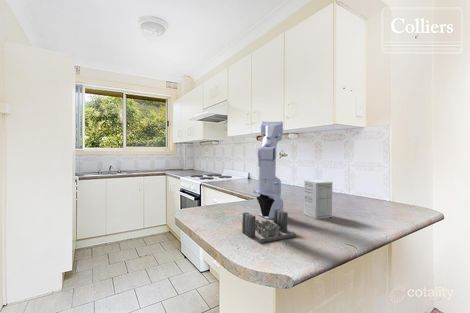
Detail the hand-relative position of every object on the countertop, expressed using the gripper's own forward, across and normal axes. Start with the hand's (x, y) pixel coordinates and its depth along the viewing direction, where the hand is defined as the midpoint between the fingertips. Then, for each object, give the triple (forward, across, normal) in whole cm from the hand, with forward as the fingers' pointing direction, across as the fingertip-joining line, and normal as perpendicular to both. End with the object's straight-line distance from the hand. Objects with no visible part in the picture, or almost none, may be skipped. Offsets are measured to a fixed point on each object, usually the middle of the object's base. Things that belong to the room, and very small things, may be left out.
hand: (265, 215), depth 82 cm
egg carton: (+6, 0, +1) cm, 6 cm away
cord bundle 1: (+6, 0, -7) cm, 9 cm away
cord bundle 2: (+6, 0, +7) cm, 9 cm away
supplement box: (+6, -9, +36) cm, 38 cm away
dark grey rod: (+6, +8, 0) cm, 10 cm away
